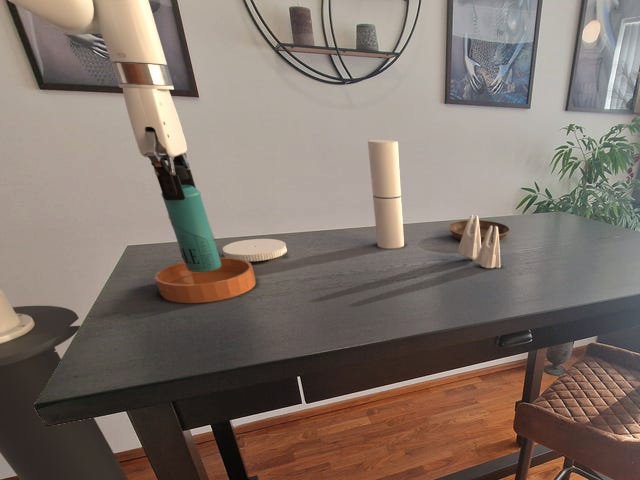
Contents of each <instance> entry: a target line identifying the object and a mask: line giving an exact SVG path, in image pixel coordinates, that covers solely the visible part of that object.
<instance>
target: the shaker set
mask: <svg viewBox="0 0 640 480" xmlns="http://www.w3.org/2000/svg"><path fill="white" fill-rule="evenodd" d="M467 220H468V223H467V225H466V228H465V231H464V233H463V236H462V239H461V241H460V242H459V244H458V248H457V253H458V254H459V255H461V256H463V257H465V258H467V259H469V260H472V261H475V262H474V263H476V264H478V265H480V267H483V268H485V269H494V268H496V269H500V268H501V251H500V249H501V248H500V241H499V234H498V227H497V226H495V229H494V236H493V243H491V238H492V226H490V227H489V229H488V232H487V234H486V236H485V239H484V241H483V243H482V244H481V238H480V228H479V220H480V219H479V216H478V214H475V215H473V214H470V216H469V218H468V219H467ZM473 220H475V222H474V224H473Z"/></svg>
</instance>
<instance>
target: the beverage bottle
mask: <svg viewBox="0 0 640 480" xmlns="http://www.w3.org/2000/svg"><path fill="white" fill-rule="evenodd" d="M174 168H175V175H178V176H179V179H180V180H184V179H189V175H188V173H187V171H186V168H185V167H184V166H177V165H174ZM182 189H183V192H184V195H185V199H184V200H165V199H164V196H163V193H162V192H161V194H160V195H161V197H162V200H163V202H164V205H165V208H166V212H167V216H168V217H167V218H168V220H169V223H170V225H171V227H172V229H173V232H174V235H175V239H176V242H177V244H178V246H177V247H178V249H179V252H180V254H181V259H182V260H183V262H185V265H186V266H185V267H187V269H188V270H189V271H192V272H207V271H212V270H216V269H218V268H220V267H221V261H220V260H221V258H222V257H221V256H220V253H219V249H218V245H217V243H216V239H215V236H214V233H213V229H212V228H211V226H210V222H209V219H208V215H207V212H206V209H205V205H204V201H203V199H202V195H201V194H202V193H201V191H200V190H199V189H198V188H194V187H193V186H191V185H182Z"/></svg>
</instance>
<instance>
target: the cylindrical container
mask: <svg viewBox="0 0 640 480" xmlns="http://www.w3.org/2000/svg"><path fill="white" fill-rule="evenodd" d="M367 148H368V157H369V170H370V179H371V180H370V181H371V189H372V199H373V201H372V202H373V211H374V222H375V232H376V234H375V235H376V242H377V243H376V244H377V247H378V248H381V249H385V250H386V249H387V250H393V249H400V248H403V247H404V246H405V239H404V238H405V237H404V223H403V221H404V220H403V206H402V205H403V204H402V190H401V189H402V188H401V177H400V176H401V172H400V158H399V157H400V156H399V155H400V154H399V142H398V140H393V139H370V140H367Z"/></svg>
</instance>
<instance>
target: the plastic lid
mask: <svg viewBox="0 0 640 480" xmlns="http://www.w3.org/2000/svg"><path fill="white" fill-rule="evenodd" d="M221 249H222V254H223V256H224V257H223V258H236V259H242V260H245V261H248V262H260V261H266V260H272V259H276V258H279V257H281V256H283V255H285V254H286V253H287V251H288V250H287V244H286V242H284V241H282V240H280V239H274V238H273V239H272V238H251V239H243V240H238V241H234V242H231V243H228V244H226V245H224V246H223V247H222V248H221Z"/></svg>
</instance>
